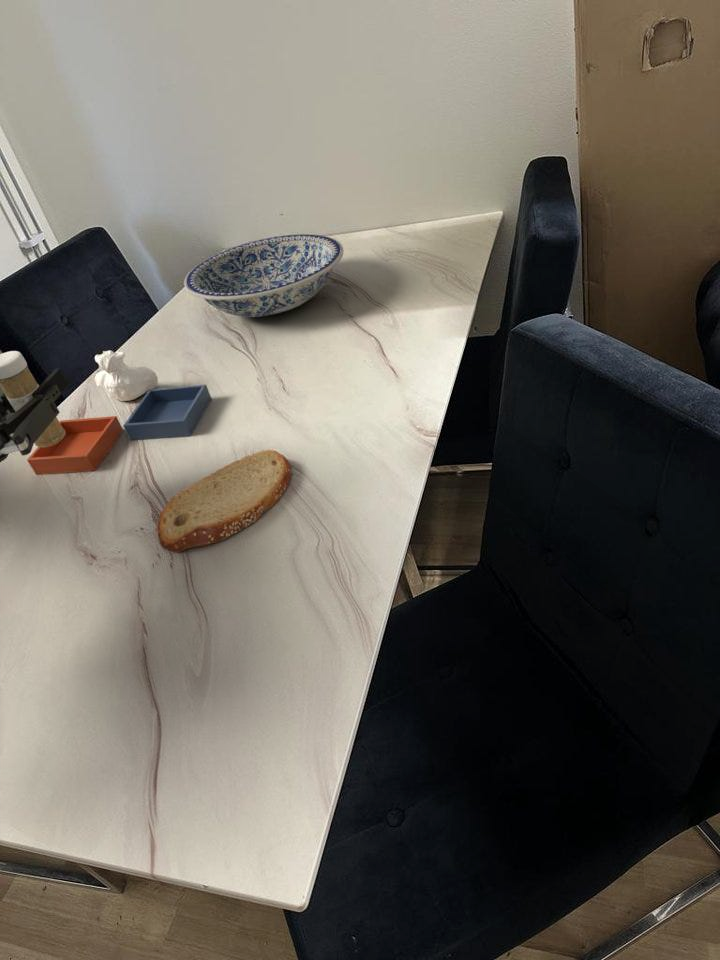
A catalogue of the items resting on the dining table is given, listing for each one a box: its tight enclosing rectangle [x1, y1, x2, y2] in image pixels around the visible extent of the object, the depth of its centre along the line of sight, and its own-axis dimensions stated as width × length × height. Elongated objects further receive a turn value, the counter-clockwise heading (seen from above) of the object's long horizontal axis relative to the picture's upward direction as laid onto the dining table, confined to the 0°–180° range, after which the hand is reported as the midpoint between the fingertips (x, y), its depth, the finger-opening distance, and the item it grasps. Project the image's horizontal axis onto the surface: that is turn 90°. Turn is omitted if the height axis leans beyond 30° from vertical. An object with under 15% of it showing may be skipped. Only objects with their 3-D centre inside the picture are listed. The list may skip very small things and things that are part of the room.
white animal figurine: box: [94, 350, 159, 402], centre depth 122 cm, size 12×8×11 cm
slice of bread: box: [156, 449, 293, 553], centre depth 93 cm, size 18×18×4 cm
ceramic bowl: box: [183, 233, 345, 318], centre depth 143 cm, size 34×34×10 cm
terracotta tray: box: [26, 415, 125, 475], centre depth 112 cm, size 11×11×3 cm
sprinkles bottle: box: [0, 350, 66, 447], centre depth 92 cm, size 5×5×14 cm
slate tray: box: [122, 384, 212, 441], centre depth 115 cm, size 11×11×3 cm
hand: (46, 378), depth 96 cm, fingers closed on sprinkles bottle, 4 cm apart
